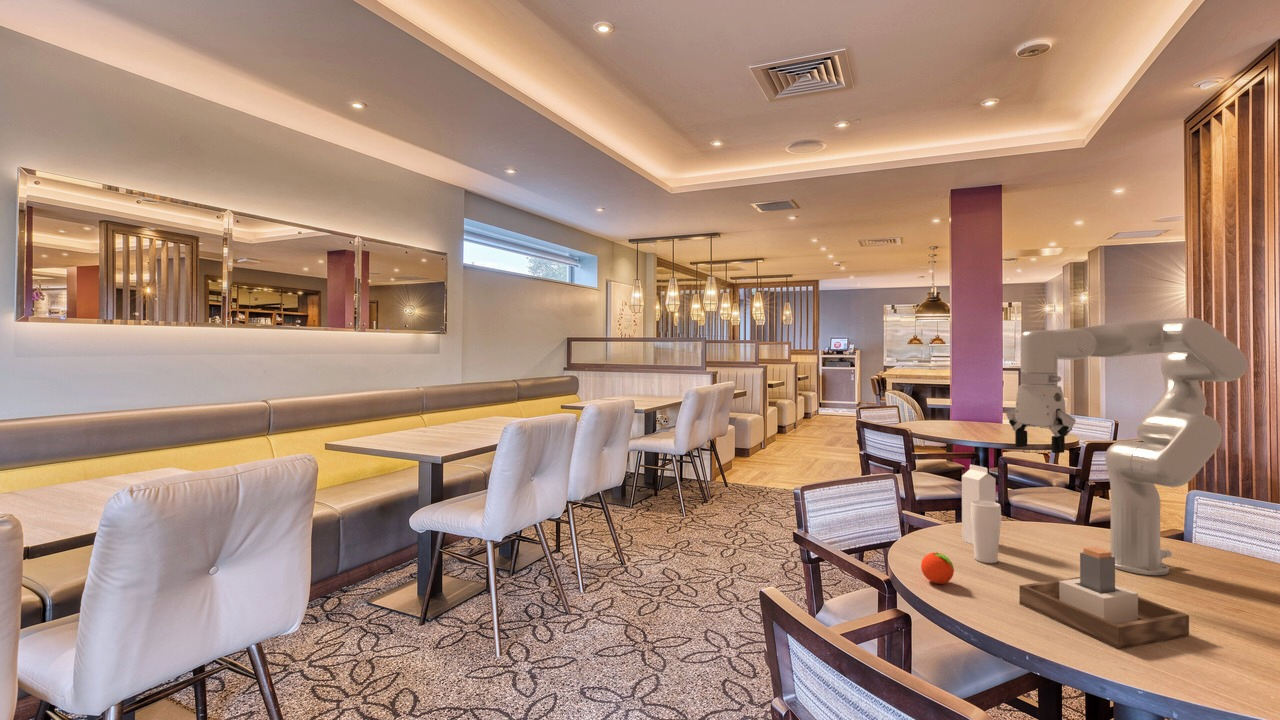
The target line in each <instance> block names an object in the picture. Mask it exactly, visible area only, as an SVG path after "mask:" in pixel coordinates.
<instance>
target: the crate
mask: <svg viewBox="0 0 1280 720" xmlns="http://www.w3.org/2000/svg"><path fill="white" fill-rule="evenodd" d="M1079 578H1080V576H1079V577H1078V576H1076V577H1071V578H1063V579H1056V580H1048V581H1041V582H1035V583H1028V584H1020V585H1019V588H1018V589H1019V605H1021V606H1023V607H1025V608H1028V609H1030V610H1032V611H1034V612H1036V613H1038V614H1040V615H1043V616H1044V617H1047V618H1049V619H1052V620H1053V621H1056V622H1058V623H1060V624H1063V625H1065V626H1067V627H1068V628H1071V629H1073V630H1076V631H1078V632H1080V633H1082V634H1084V635H1086V636H1088V637H1090V638H1092V639H1095V640H1097V641H1099V642H1101V643H1104V644H1106V645H1108V646H1110V647H1112V648H1113V649H1114V648H1115V649H1116V650H1123V649H1128V648H1134V647H1140V646H1145V645H1149V644H1155V643H1159V642H1165V641H1171V640H1175V639H1182V638H1187V637H1190V615H1189V614H1187V613H1184V612H1182V611H1179V610H1176V609H1174V608H1171V607H1168V606H1165V605H1162V604H1159V603H1156V602H1153V601H1151V600H1149V599H1146V598H1143V597H1140V596H1138V620H1137V621H1131V622H1125V623H1119V624H1114V623H1112V622H1110V621H1107V620H1105V619H1103V618H1100V617H1098V616H1096V615H1093V614H1091V613H1088V612H1086V611H1084V610H1081V609H1079V608H1077V607H1074V606H1072V605H1069V604H1067V603H1065V602H1062V601H1060V600H1059V581H1065V580H1072V579H1079Z"/></svg>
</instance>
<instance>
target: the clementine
mask: <svg viewBox="0 0 1280 720" xmlns="http://www.w3.org/2000/svg"><path fill="white" fill-rule="evenodd" d="M920 568H921V572H922V574H923V576H924V577H925V578H926V579H927V580H928V581H930V582H932V583H933V584H937V585H939V584H940V585H941V584H946V583H948V582H949V581H951V580H952V578H953V576H954V573H955V572H954V571H955V568H954V564H953V563H952V561H951V560H950V558H949V557H947V556H946V555H944V554H943V553H939V552H930V553H928V554H926V555H925V556H924V557H922V560H921V564H920Z"/></svg>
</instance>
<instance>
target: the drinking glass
mask: <svg viewBox="0 0 1280 720" xmlns="http://www.w3.org/2000/svg"><path fill="white" fill-rule="evenodd" d="M1001 506H1002V505H1001V504H1000V503H998V502H996V503H995V502H991V501H983V500H975V501H972V502H971V525H972V534H973V544H972V546H973V557H974V559H975V560H976V561H977V562H980V563H984V564H996V563H997V562H998V561H999V545H1000V534H1001V524H1002V507H1001Z"/></svg>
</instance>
